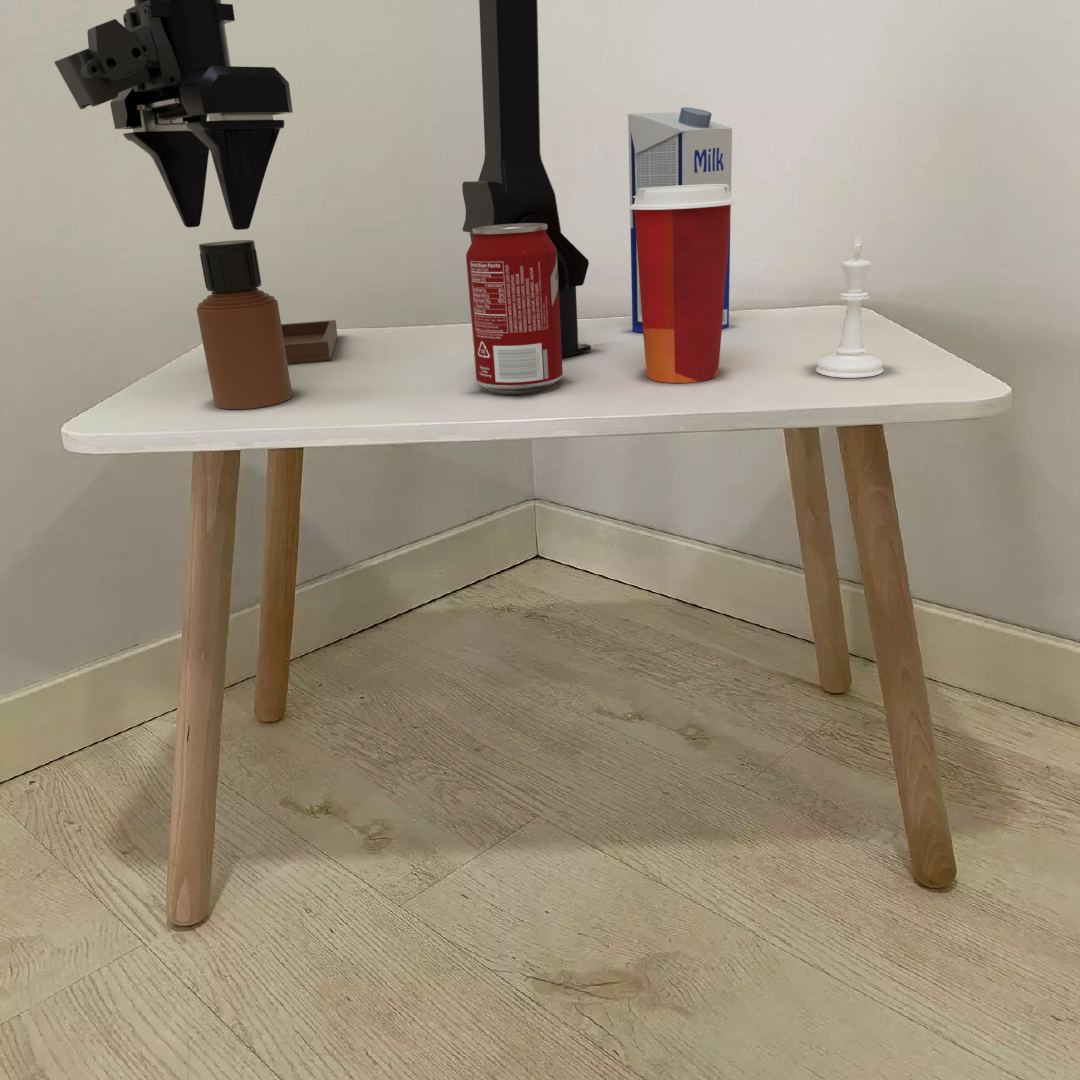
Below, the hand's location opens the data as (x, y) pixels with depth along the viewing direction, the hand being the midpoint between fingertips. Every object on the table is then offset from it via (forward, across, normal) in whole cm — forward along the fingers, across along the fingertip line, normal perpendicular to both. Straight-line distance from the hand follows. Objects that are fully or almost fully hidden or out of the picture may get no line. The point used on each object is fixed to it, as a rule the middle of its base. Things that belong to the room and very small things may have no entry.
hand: (215, 228), depth 71 cm
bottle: (+13, +1, 0) cm, 13 cm away
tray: (+13, -16, +11) cm, 24 cm away
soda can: (+13, +15, +16) cm, 26 cm away
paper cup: (+13, +23, +26) cm, 37 cm away
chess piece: (+13, +32, +35) cm, 49 cm away
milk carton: (+13, +9, +42) cm, 45 cm away
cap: (+4, +1, 0) cm, 4 cm away
